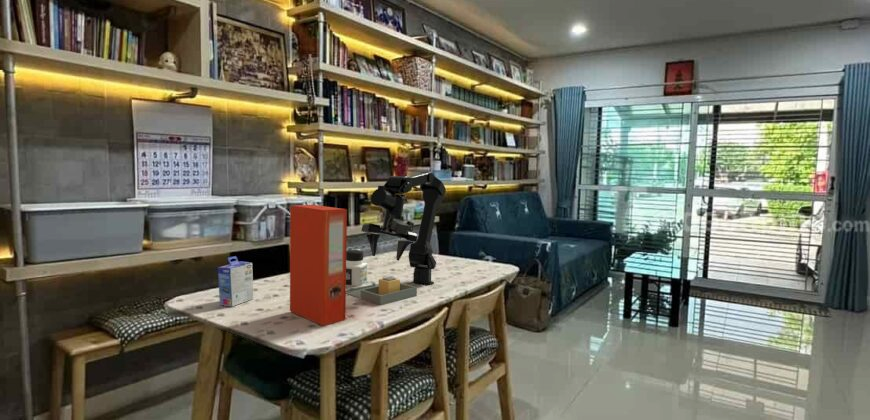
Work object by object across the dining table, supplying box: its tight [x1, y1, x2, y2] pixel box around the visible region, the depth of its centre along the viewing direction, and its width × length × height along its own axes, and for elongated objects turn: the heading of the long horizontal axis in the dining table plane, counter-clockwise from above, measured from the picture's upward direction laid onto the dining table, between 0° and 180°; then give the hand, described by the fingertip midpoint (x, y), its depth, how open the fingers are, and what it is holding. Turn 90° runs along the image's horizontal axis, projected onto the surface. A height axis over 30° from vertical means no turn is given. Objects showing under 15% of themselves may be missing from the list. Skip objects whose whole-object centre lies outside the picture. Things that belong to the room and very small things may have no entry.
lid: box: [346, 282, 379, 299], centre depth 163 cm, size 16×10×2 cm, turn 137°
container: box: [346, 248, 368, 288], centre depth 174 cm, size 8×8×13 cm
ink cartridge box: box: [217, 255, 254, 308], centre depth 148 cm, size 10×6×14 cm, turn 161°
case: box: [360, 282, 418, 306], centre depth 156 cm, size 16×11×4 cm, turn 137°
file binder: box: [289, 204, 348, 326], centre depth 136 cm, size 8×17×32 cm, turn 46°
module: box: [378, 276, 401, 295], centre depth 156 cm, size 5×5×6 cm
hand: (385, 258), depth 155 cm, fingers open, 9 cm apart
